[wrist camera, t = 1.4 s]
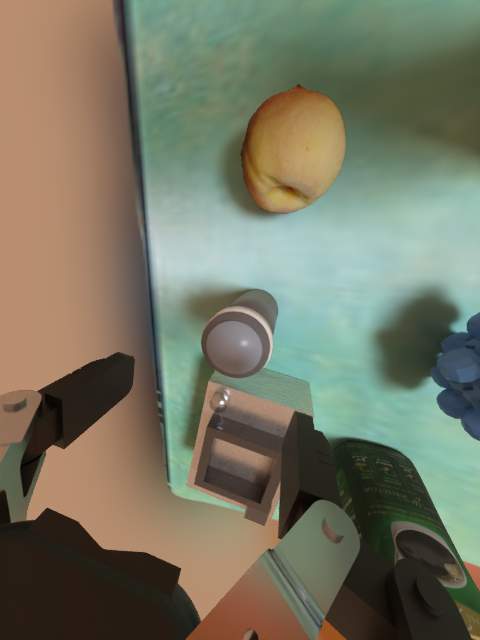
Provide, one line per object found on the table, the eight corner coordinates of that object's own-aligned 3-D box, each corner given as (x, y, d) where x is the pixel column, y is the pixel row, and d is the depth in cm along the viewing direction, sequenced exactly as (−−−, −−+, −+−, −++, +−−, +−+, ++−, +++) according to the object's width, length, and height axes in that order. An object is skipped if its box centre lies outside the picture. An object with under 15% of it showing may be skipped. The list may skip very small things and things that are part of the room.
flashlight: (239, 282, 26) (204, 302, 15) (284, 294, 25) (280, 324, 14) (230, 324, 28) (192, 369, 17) (272, 337, 27) (260, 391, 16)
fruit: (237, 196, 23) (212, 169, 16) (283, 107, 20) (280, 22, 13) (298, 236, 23) (302, 227, 16) (353, 152, 20) (391, 92, 13)
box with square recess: (224, 355, 29) (201, 391, 21) (309, 382, 27) (316, 431, 20) (203, 447, 34) (179, 502, 27) (274, 473, 33) (269, 539, 25)
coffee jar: (322, 476, 31) (362, 763, 14) (336, 431, 29) (407, 710, 11) (398, 498, 29) (555, 855, 12) (420, 452, 27) (657, 816, 10)
